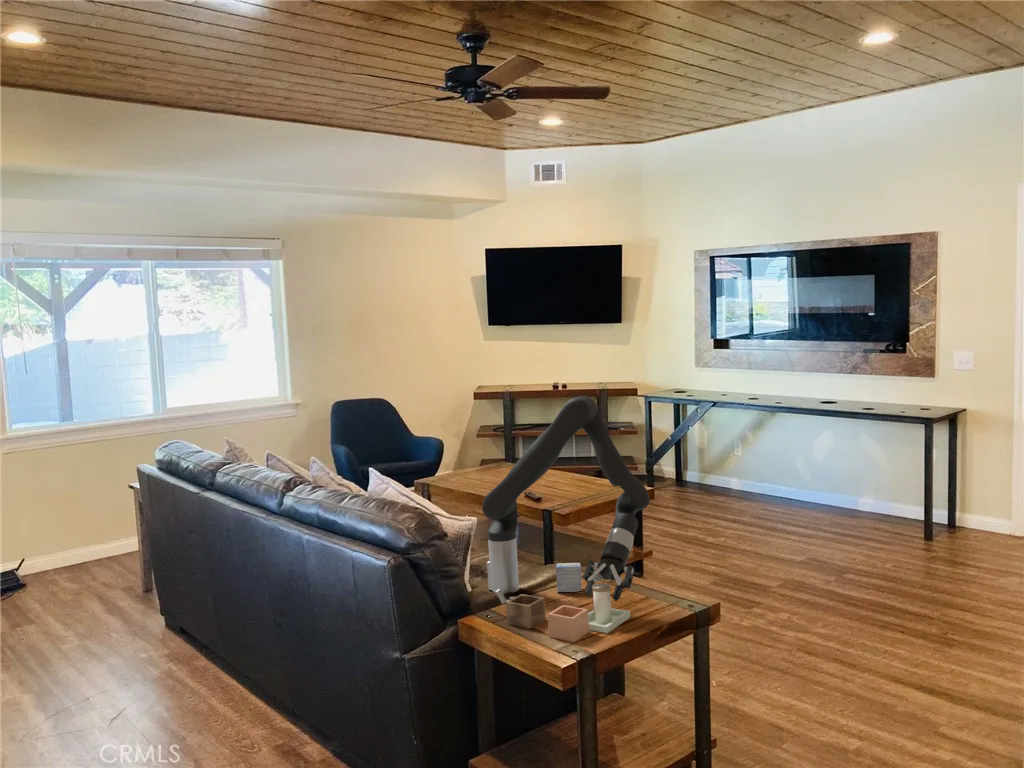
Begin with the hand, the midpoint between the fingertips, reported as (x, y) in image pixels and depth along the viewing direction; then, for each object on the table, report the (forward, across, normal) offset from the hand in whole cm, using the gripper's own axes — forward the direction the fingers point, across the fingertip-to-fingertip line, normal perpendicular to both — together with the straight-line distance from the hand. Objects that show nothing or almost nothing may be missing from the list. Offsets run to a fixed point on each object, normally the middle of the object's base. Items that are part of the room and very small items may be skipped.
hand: (601, 597), depth 215 cm
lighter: (+9, -29, +2) cm, 30 cm away
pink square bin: (+14, -4, -3) cm, 15 cm away
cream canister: (+5, 0, +5) cm, 7 cm away
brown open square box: (+12, -20, -1) cm, 23 cm away
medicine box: (-10, -24, +22) cm, 34 cm away
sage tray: (+5, 0, +6) cm, 8 cm away
